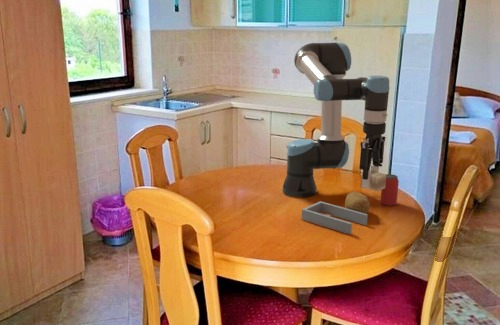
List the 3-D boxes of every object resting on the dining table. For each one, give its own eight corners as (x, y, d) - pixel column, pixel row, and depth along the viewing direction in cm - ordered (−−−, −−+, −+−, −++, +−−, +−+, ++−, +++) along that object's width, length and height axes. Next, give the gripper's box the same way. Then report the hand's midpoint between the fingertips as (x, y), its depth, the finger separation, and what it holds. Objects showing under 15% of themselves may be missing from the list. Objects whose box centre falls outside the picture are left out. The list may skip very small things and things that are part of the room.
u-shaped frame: (301, 219, 190) (301, 209, 189) (320, 210, 199) (320, 201, 198) (349, 234, 176) (350, 224, 175) (367, 224, 185) (367, 214, 184)
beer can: (397, 206, 203) (399, 179, 200) (380, 205, 204) (382, 178, 201) (396, 201, 209) (398, 174, 206) (379, 200, 211) (382, 173, 207)
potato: (363, 206, 203) (364, 188, 201) (374, 219, 190) (375, 200, 188) (339, 207, 203) (340, 188, 200) (349, 220, 189) (350, 200, 187)
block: (361, 173, 175) (379, 178, 171) (368, 170, 179) (386, 174, 174) (360, 186, 177) (378, 191, 172) (367, 183, 180) (385, 187, 176)
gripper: (371, 127, 161) (366, 194, 168) (397, 119, 174) (391, 181, 181) (351, 124, 166) (347, 189, 173) (377, 116, 179) (372, 177, 186)
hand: (369, 185), depth 177 cm, fingers closed on block, 5 cm apart
